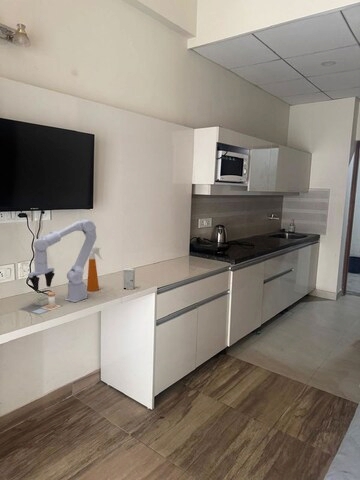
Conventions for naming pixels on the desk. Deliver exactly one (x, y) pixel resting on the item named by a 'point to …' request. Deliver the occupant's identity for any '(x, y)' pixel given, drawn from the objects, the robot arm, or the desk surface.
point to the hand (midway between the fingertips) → (42, 288)
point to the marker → (51, 299)
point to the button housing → (41, 302)
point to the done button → (41, 299)
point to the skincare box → (129, 278)
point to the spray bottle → (93, 270)
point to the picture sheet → (39, 308)
